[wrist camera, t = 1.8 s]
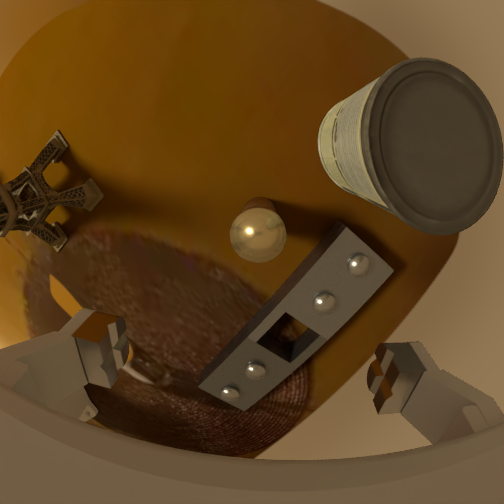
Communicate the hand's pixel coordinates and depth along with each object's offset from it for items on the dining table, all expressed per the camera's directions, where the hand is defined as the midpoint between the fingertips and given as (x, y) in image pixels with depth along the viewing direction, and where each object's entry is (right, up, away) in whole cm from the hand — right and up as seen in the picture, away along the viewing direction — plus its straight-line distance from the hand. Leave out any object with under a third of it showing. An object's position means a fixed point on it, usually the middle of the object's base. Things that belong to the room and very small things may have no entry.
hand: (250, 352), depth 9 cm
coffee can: (+11, +14, +17) cm, 25 cm away
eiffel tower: (-23, +10, +20) cm, 32 cm away
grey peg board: (+4, -5, +24) cm, 25 cm away
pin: (+1, +7, +20) cm, 21 cm away
